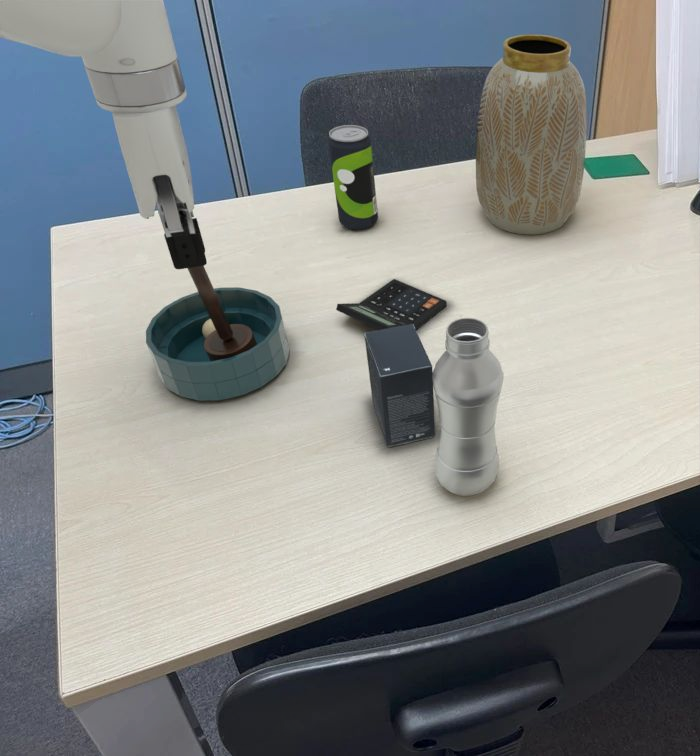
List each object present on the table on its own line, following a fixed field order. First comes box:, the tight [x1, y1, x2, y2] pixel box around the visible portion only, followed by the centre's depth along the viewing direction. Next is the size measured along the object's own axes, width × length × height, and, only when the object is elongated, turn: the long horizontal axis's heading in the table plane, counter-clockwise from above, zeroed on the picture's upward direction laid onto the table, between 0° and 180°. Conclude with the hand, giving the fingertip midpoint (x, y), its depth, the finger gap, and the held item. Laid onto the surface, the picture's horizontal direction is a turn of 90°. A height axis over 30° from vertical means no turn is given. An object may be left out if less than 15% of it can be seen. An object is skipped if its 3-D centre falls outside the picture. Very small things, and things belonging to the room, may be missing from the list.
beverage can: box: [327, 124, 379, 232], centre depth 109 cm, size 6×6×15 cm
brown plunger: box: [180, 215, 257, 361], centre depth 77 cm, size 6×6×19 cm
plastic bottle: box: [432, 317, 504, 497], centre depth 68 cm, size 6×7×20 cm
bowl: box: [145, 286, 290, 402], centre depth 85 cm, size 15×15×6 cm
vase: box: [475, 34, 588, 236], centre depth 109 cm, size 17×17×27 cm
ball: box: [202, 319, 216, 338], centre depth 88 cm, size 3×3×3 cm
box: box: [363, 324, 436, 448], centre depth 77 cm, size 8×6×11 cm
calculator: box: [335, 278, 448, 331], centre depth 95 cm, size 9×12×3 cm
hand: (190, 259), depth 74 cm, fingers closed on brown plunger
